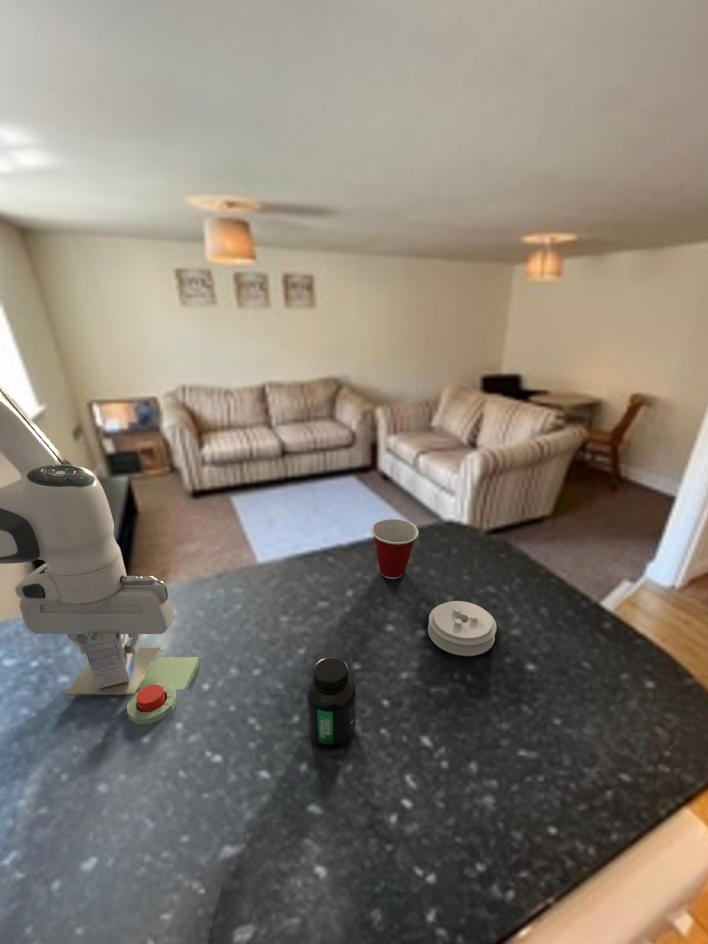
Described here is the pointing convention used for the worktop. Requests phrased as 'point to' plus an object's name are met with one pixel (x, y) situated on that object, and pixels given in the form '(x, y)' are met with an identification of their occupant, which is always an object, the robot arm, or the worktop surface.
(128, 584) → the robot arm
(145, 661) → the plate
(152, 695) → the button
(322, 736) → the supplement bottle
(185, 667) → the green flat piece
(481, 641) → the lid
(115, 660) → the medicine box
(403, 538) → the plastic cup
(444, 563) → the worktop surface
